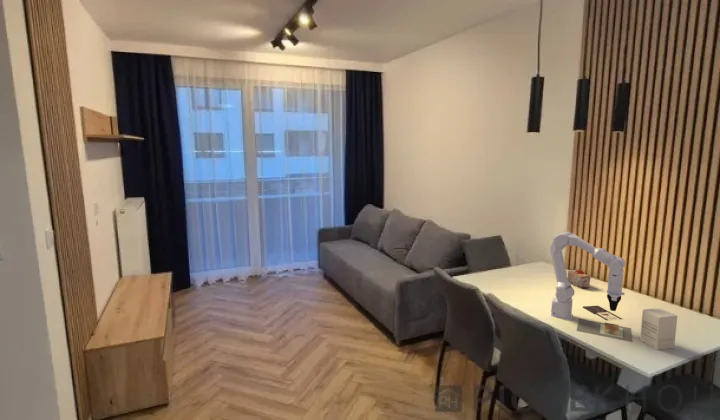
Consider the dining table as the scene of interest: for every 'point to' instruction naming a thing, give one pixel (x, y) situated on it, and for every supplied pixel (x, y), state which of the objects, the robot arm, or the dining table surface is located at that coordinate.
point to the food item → (579, 278)
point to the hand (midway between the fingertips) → (612, 310)
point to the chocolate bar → (602, 312)
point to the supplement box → (658, 328)
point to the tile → (611, 329)
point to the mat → (598, 329)
